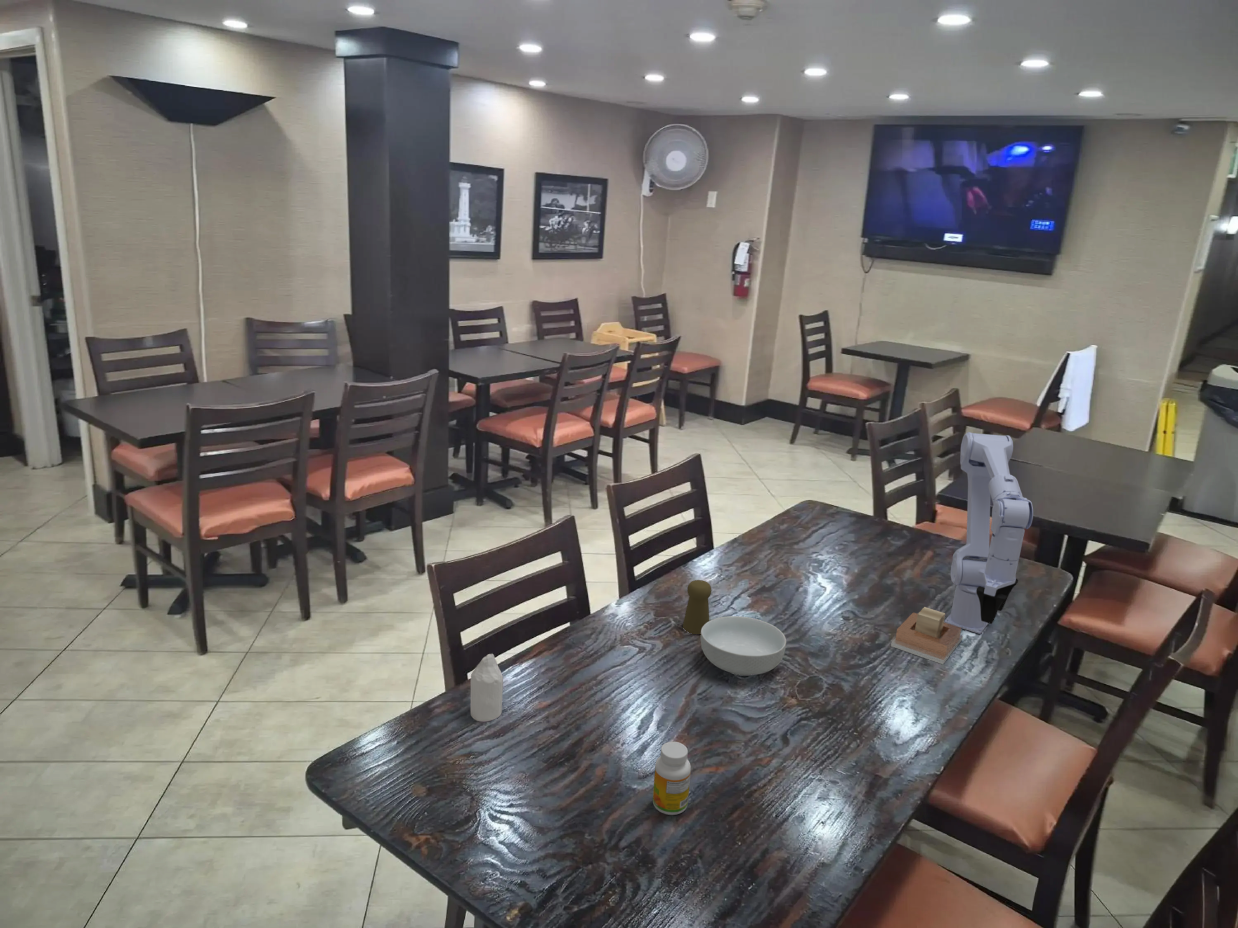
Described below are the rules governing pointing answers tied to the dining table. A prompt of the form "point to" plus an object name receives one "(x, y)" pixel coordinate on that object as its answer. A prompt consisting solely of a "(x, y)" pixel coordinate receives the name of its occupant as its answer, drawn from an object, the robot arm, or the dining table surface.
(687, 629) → the olive salt shaker
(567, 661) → the dining table surface
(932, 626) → the birch block
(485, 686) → the grey pointed cylinder
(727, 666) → the cereal bowl
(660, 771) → the supplement bottle
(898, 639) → the orange-brown socket block
